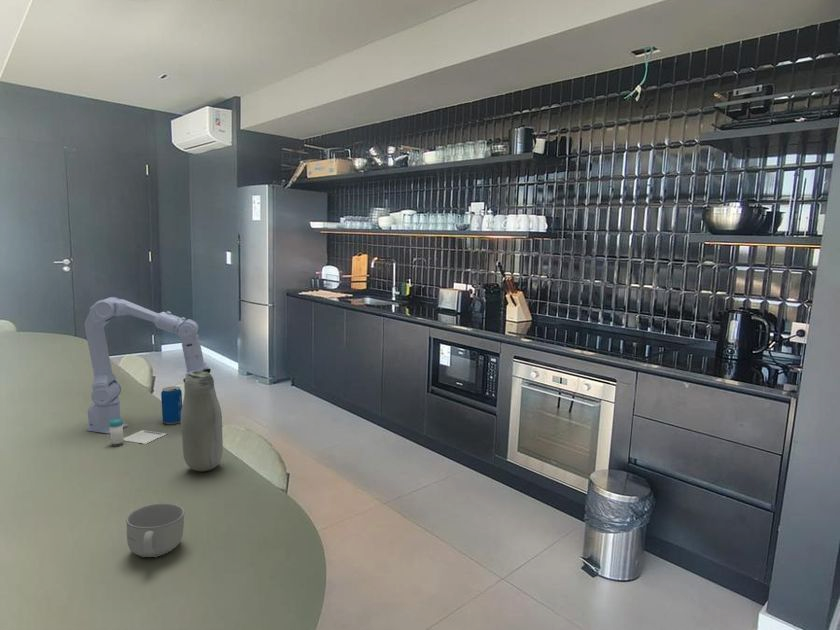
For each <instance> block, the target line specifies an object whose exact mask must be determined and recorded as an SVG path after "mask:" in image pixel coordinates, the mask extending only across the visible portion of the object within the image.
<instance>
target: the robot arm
mask: <svg viewBox="0 0 840 630" xmlns="http://www.w3.org/2000/svg"><path fill="white" fill-rule="evenodd" d="M122 316H133V317H136V318H139V319H142V320H144V321H145V320H146V321H148V322H151V323H153V324H154V325H155V327H156V328H157V329H160V330H162V331H166V332H168V333H170V334H174V335H177V337H179V338H180V341H181V347H182V353H183V357H184V363H185V367H186V370H185V371H186V372H185V374H184V375H185V377H186V376H187V375H188V374H189V373H191V372H193V371H206V372H208V373H210V374H211V368H210V367H209V365H207V363H206V362H205V361H204V356H203V351H202V350H203V349H202V346H201V341H200V338H199V337H200V336H199V333H198V332H199V329H200V328H199V325H198V323H197V322H196V321H194V320H193V319H189V318H188V319H186V317H184V316H183V317H180V316H177V315H174V314H172V312H171V311H169V310H167V311H166V312H165V311H161V312H159V313H158V312H156V311H153V310H152V309H151V310H150V309H149V308H145V307H143V306H141V305H138V304H136V303H133V302H131V301H129V300H126V299H123V298H119V297H116V296H110V297H107V298H105V299H100V300H98V301H96V302H95V303H93V304H92V305H91V306H90V307H89V313H88V315H87V316H86V318H85V320H84V330H85V336H86V340H87V346H88V350H89V356H90V361H91V366H92V370H93V371H92V372H93V376H94V377H93V381H92V384H91V385H92V392H91V395H90V397H91V398H90V399H91V400H92V403H91V404H90V405H89V407H88V409H87V421H88V428H86V431H89V432H96V433H102V434H110V426H109V420H111V419H114V418H122V415H121V403H120V402H121V401H120V398H119V396H120V394H121V392H122V386H121V384H120V383H119V381H118V380H117V377H116V375H115V374H114V373H113V370H112V364H111V359H110V352H109V349H108V348H109V347H108V341H107V337H106V332H105V326H106V325H107V324H108V323H109V322H110V321H111V320H112V319H113V318H116V317H122ZM182 380H183V383H184V382H185V378H183V379H182ZM122 425H123V428H125V427H126V428H127V427H128V424H127V423H126V424H125V423H123V424H122Z"/></svg>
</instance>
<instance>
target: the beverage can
mask: <svg viewBox="0 0 840 630" xmlns="http://www.w3.org/2000/svg"><path fill="white" fill-rule="evenodd" d="M161 389H162V390H161V392H160V396H161V397H160V398H161V412H162V413H161V415H162V416H161V418H162V422H163V423H165V425H176V424H179V423H181V410H182V405H183V392H182V391H183V390H182V389H181V387H180V386H166V387H164V388H161Z"/></svg>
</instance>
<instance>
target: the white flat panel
mask: <svg viewBox="0 0 840 630" xmlns="http://www.w3.org/2000/svg"><path fill="white" fill-rule="evenodd" d="M166 434H167V433H165V432H158V431H150V430H144V429H142V430H140V431H137V432H135V433H133V434H131V435H128V436H125V437H123V439H124V441H123V442H127V443H134V444H139V443H142V444H141V445H147V443H148V444H150V443H152V442H154V441H156V440H158V439H157V438H159V439H161V438H163V437H165V436H167V435H166ZM164 435H165V436H164ZM162 436H163V437H162ZM160 437H161V438H160ZM155 439H156V440H155ZM153 440H154V441H153ZM151 441H152V442H151ZM149 442H150V443H149Z"/></svg>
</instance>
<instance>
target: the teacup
mask: <svg viewBox="0 0 840 630" xmlns="http://www.w3.org/2000/svg"><path fill="white" fill-rule="evenodd" d="M184 519H185V509H184V507H183V506H182V505H179V504H176V503H171V502H170V503H169V502H157V503H150V504H147V505H146V504H145V505H143V506H141V507H138V508H136V509H134V510H132V511H131V512H129V514H127V516H126V518H125V522H126V541H127V546H128V549H129V550H130V551H131V552H132V553H134V554H135V555H138V556H139V557H141V558H144V557H155V556H160V555H163V554H165V553H167V552H169V551H170V552H171V551H173V550H174V549H175V548H176V547H177V546H178V545H179V544H180V542H181V541H182V538H183V535H184V527H185V525H184V524H185V520H184ZM170 552H169V553H170ZM167 554H168V553H167ZM165 555H166V554H165ZM163 556H164V555H163ZM160 557H161V556H160ZM155 558H156V557H155Z"/></svg>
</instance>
